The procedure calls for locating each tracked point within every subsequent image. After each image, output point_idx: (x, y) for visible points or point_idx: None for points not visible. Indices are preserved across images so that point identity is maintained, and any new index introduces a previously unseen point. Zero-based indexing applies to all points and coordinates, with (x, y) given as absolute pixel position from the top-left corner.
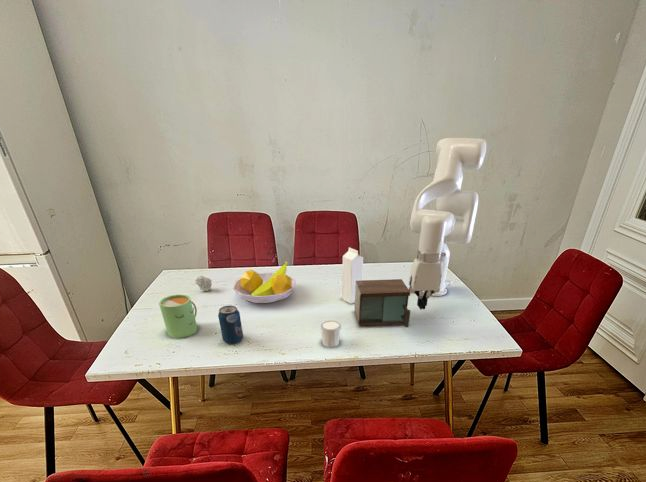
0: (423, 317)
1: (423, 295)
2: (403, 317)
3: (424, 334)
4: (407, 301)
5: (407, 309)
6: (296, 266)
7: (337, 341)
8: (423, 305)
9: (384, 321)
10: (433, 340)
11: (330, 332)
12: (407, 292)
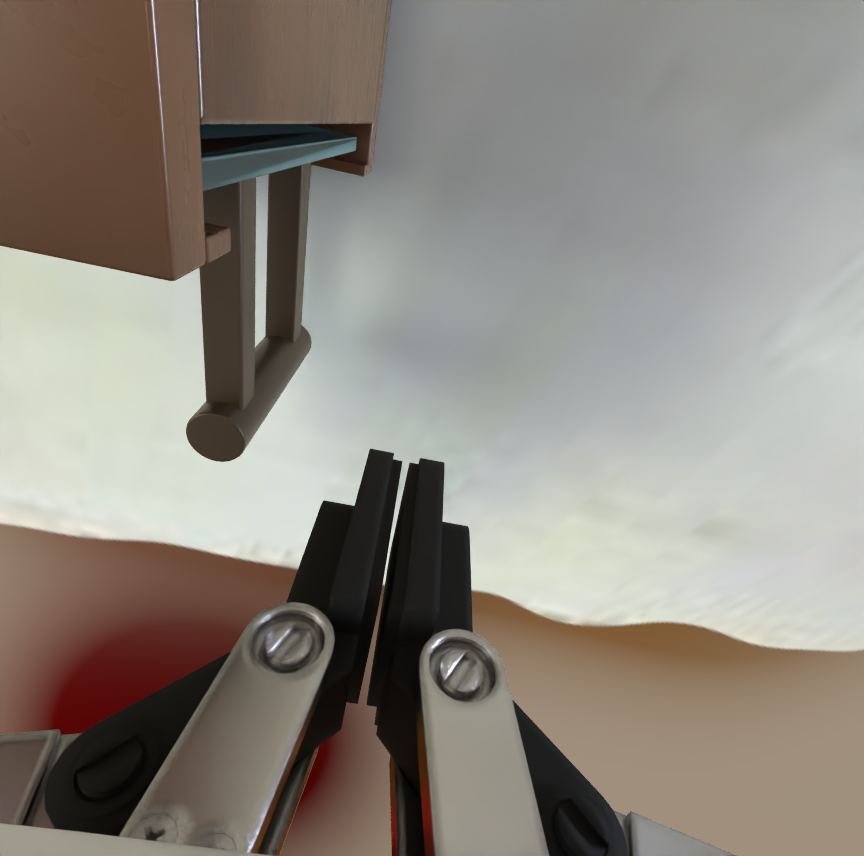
0: (685, 32)
1: (389, 679)
2: (278, 221)
3: (458, 394)
4: (260, 175)
5: (233, 356)
6: None
7: None
8: (382, 601)
9: None
10: (477, 482)
11: None
12: (74, 256)
